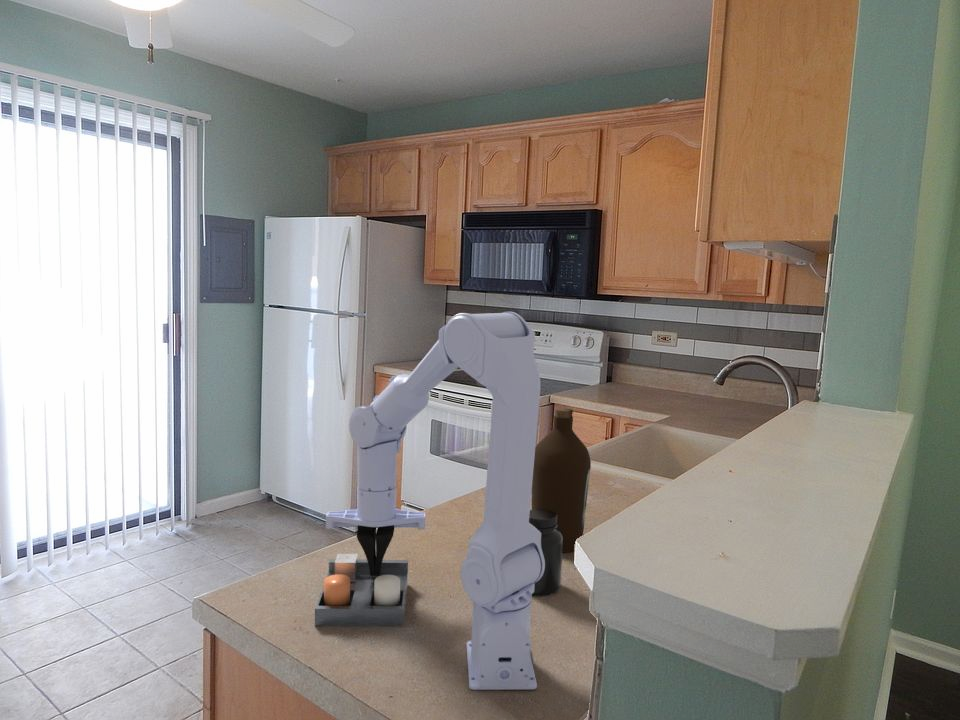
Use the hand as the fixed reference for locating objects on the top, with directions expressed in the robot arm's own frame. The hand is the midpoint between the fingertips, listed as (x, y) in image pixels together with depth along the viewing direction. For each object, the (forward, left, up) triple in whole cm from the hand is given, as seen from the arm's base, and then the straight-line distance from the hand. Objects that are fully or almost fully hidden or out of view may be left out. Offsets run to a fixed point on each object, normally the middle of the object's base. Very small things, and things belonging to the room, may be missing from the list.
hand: (375, 573), depth 97 cm
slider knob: (0, +4, -1) cm, 4 cm away
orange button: (-6, +5, -1) cm, 8 cm away
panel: (-3, +1, -3) cm, 5 cm away
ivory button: (-6, -2, -1) cm, 6 cm away
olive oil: (+20, -31, -3) cm, 37 cm away
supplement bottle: (+3, -25, -4) cm, 26 cm away
